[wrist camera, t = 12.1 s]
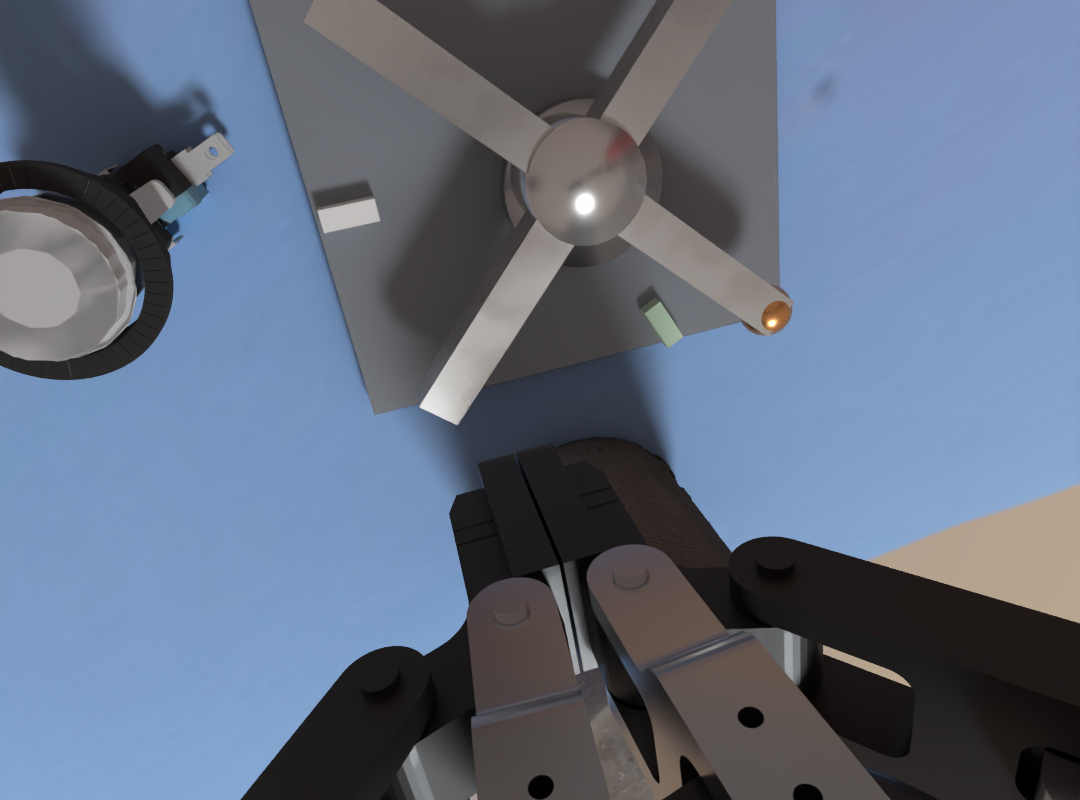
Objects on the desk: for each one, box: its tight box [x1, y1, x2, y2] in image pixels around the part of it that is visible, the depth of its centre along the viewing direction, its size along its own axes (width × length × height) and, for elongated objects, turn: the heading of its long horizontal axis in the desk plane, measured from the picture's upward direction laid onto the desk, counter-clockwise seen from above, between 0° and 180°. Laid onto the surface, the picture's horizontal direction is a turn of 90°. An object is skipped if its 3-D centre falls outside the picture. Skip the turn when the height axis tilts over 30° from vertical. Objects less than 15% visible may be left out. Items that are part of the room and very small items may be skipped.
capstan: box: [303, 0, 794, 425], centre depth 26 cm, size 20×19×4 cm
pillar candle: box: [555, 438, 732, 800], centre depth 29 cm, size 10×10×15 cm
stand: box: [249, 0, 780, 415], centre depth 28 cm, size 18×16×2 cm
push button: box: [0, 132, 234, 380], centre depth 21 cm, size 7×5×10 cm
